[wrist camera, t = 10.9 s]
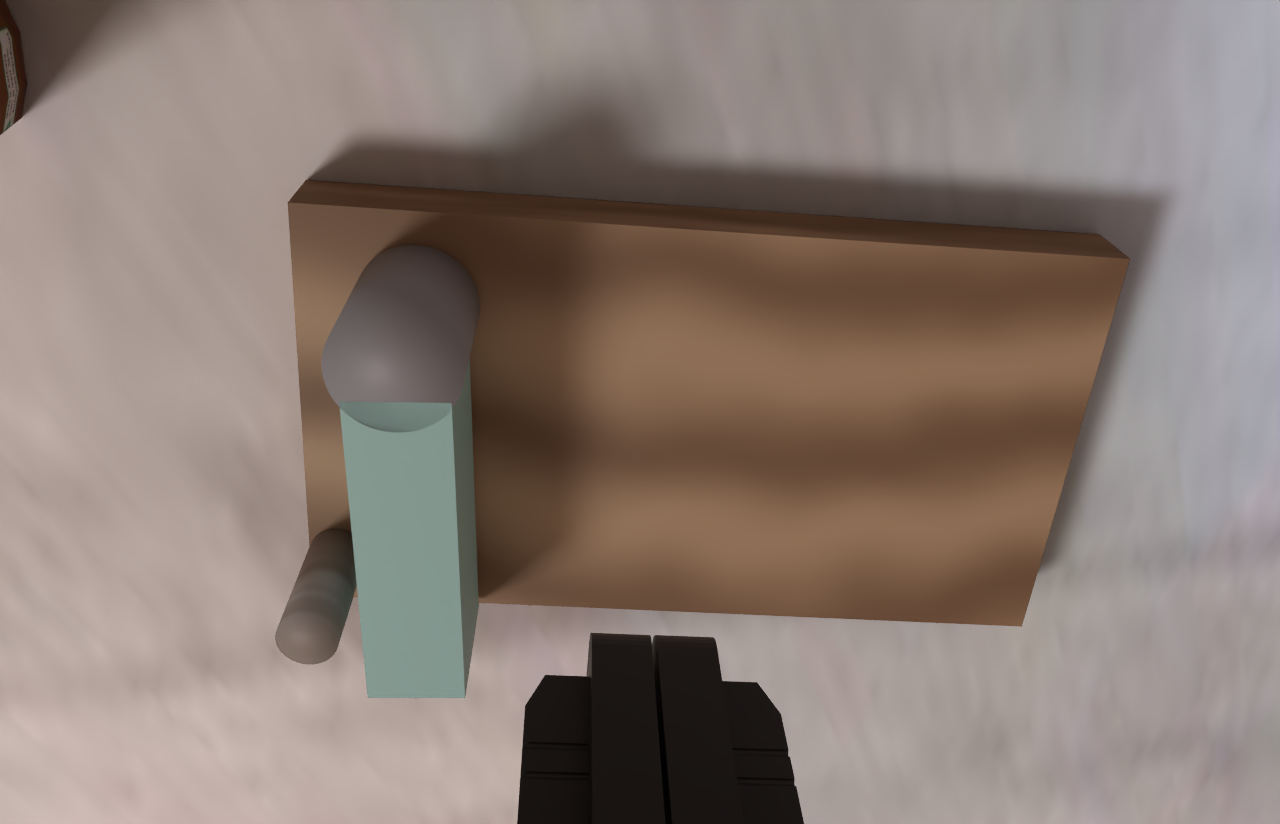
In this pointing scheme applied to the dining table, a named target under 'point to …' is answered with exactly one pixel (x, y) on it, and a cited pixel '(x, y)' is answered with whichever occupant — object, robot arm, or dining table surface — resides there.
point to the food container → (10, 70)
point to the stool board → (725, 403)
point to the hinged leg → (410, 467)
